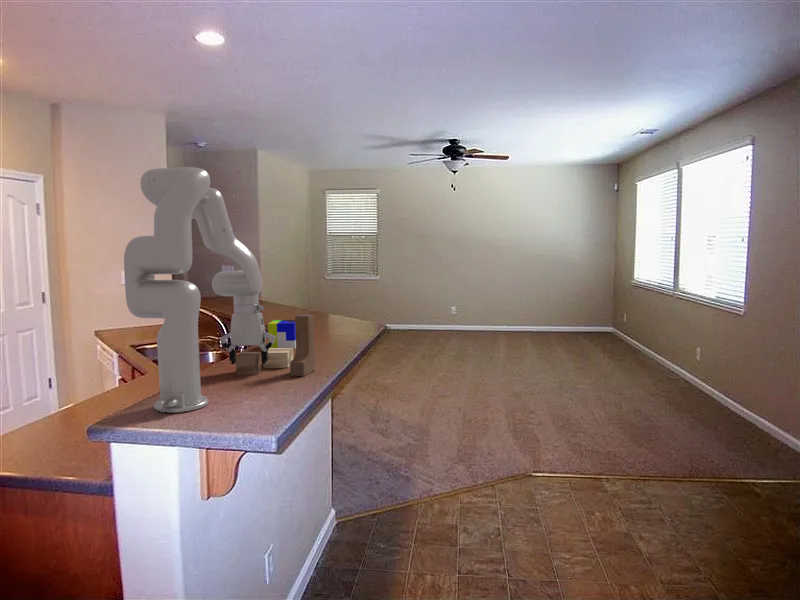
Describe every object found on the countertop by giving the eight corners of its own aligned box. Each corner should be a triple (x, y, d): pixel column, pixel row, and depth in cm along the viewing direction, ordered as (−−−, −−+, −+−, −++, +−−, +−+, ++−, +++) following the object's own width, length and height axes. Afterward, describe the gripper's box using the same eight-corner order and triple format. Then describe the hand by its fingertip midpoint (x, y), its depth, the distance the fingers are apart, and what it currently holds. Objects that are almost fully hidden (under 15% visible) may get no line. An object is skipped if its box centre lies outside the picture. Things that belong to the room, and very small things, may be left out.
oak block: (287, 367, 180) (287, 352, 179) (263, 367, 180) (263, 352, 180) (293, 362, 188) (293, 348, 187) (270, 362, 188) (269, 348, 188)
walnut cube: (255, 374, 171) (254, 355, 171) (236, 374, 171) (235, 355, 171) (261, 370, 177) (260, 352, 177) (242, 370, 177) (241, 352, 177)
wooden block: (303, 377, 167) (302, 318, 165) (290, 376, 168) (288, 317, 166) (315, 370, 176) (313, 314, 174) (302, 369, 177) (300, 314, 175)
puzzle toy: (294, 349, 212) (294, 323, 211) (268, 349, 212) (268, 323, 211) (299, 344, 222) (299, 319, 221) (275, 344, 222) (274, 319, 221)
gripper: (277, 307, 176) (279, 360, 178) (223, 308, 176) (226, 360, 178) (270, 310, 168) (273, 365, 170) (214, 311, 169) (217, 366, 171)
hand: (249, 363), depth 174 cm, fingers open, 9 cm apart
